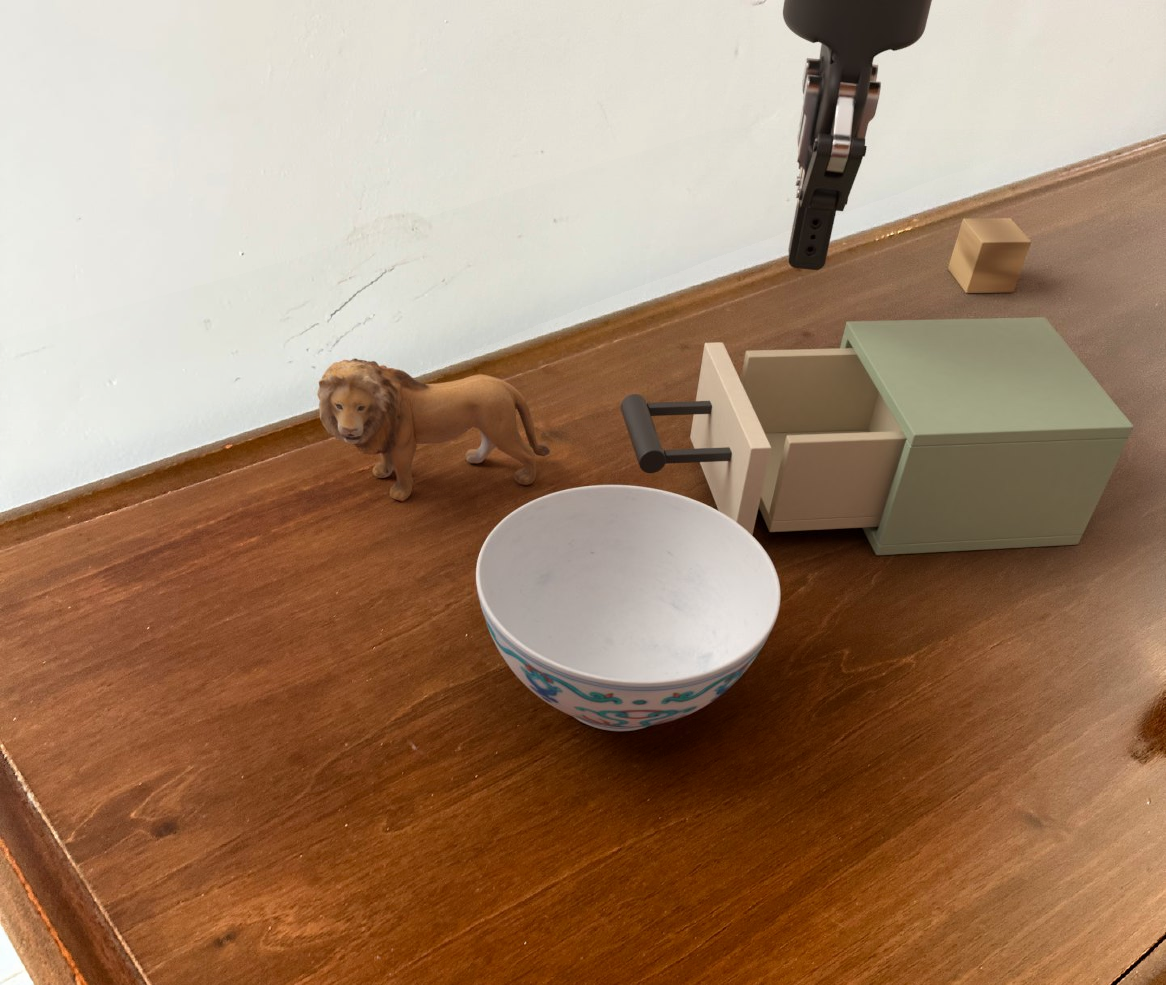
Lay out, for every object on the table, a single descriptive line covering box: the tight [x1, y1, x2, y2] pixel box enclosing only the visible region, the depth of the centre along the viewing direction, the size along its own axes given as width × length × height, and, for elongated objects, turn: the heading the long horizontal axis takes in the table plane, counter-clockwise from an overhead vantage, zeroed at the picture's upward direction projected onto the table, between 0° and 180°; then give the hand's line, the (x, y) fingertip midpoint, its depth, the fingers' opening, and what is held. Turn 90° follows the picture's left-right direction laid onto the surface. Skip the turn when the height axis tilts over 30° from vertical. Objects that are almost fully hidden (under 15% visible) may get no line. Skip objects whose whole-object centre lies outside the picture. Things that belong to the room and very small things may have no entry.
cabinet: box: [839, 316, 1134, 556], centre depth 75 cm, size 14×13×9 cm
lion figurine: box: [316, 357, 551, 502], centre depth 72 cm, size 15×5×9 cm, turn 115°
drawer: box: [620, 342, 907, 536], centre depth 73 cm, size 18×11×7 cm, turn 100°
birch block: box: [947, 217, 1032, 294], centre depth 97 cm, size 4×4×4 cm
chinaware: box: [475, 484, 782, 732], centre depth 61 cm, size 15×15×8 cm
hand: (805, 262), depth 73 cm, fingers closed
